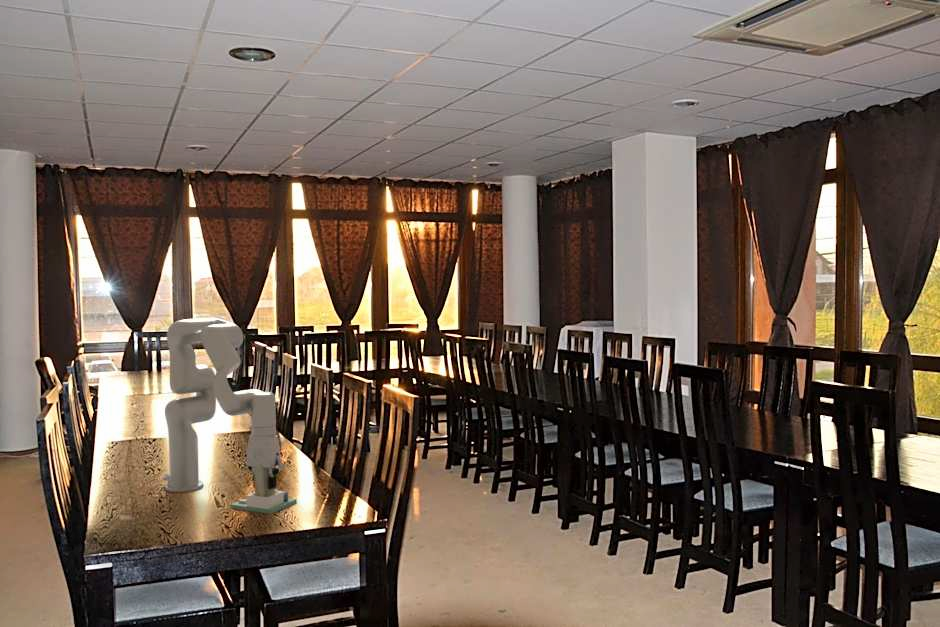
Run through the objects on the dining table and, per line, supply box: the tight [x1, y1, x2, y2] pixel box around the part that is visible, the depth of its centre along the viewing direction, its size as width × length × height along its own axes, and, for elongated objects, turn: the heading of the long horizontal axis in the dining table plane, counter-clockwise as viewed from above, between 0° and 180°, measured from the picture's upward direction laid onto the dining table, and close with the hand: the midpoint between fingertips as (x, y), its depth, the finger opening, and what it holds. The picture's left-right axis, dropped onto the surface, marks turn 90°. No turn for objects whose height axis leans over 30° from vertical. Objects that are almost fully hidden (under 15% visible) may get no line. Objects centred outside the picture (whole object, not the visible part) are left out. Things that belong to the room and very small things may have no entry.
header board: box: [230, 491, 297, 515], centre depth 262 cm, size 16×13×4 cm
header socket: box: [246, 489, 285, 509], centre depth 260 cm, size 8×9×4 cm
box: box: [254, 464, 276, 497], centre depth 259 cm, size 5×4×11 cm
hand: (264, 486), depth 259 cm, fingers closed on box, 5 cm apart
